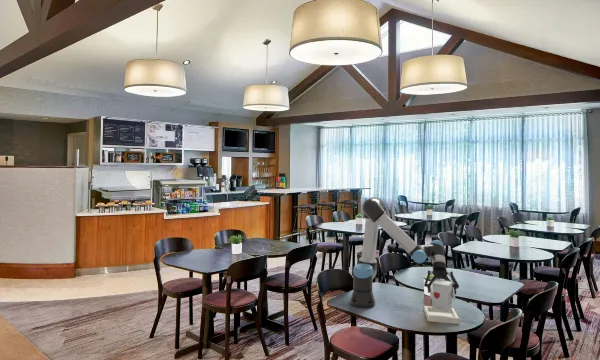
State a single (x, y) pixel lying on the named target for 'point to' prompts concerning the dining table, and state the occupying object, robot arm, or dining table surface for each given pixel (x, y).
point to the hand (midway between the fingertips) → (442, 298)
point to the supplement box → (442, 295)
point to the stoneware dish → (441, 315)
